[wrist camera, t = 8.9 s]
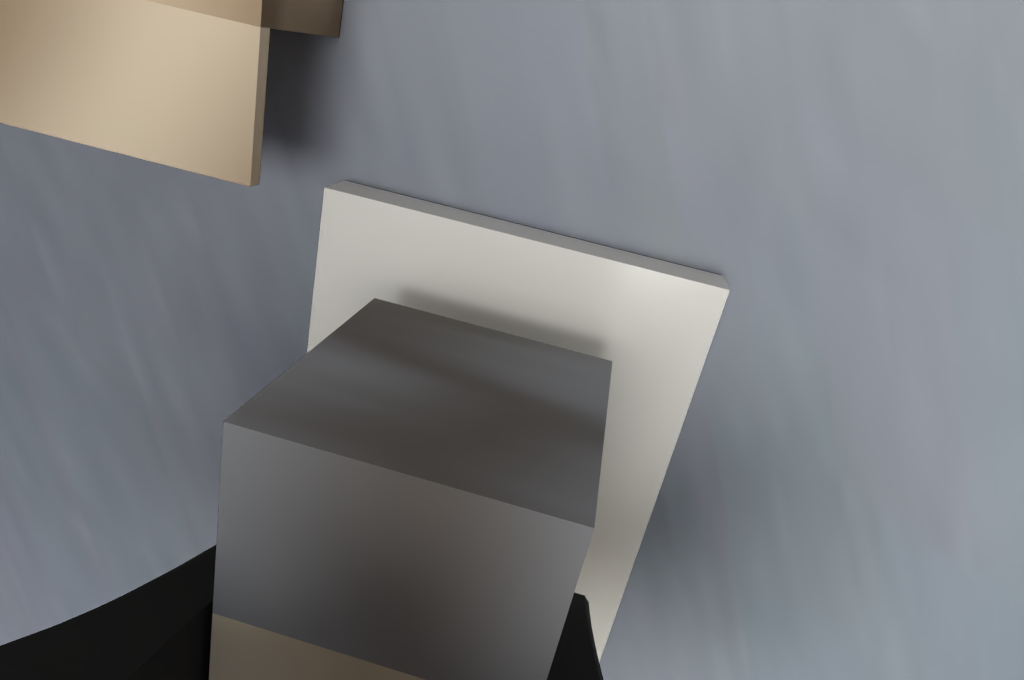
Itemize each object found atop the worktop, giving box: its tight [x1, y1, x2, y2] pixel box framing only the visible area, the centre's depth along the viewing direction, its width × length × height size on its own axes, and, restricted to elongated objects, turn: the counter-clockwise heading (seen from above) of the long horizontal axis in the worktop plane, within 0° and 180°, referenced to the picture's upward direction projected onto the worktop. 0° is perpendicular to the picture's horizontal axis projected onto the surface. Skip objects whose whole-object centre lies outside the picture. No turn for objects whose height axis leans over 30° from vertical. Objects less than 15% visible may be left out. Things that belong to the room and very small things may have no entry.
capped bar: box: [209, 298, 612, 680], centre depth 12 cm, size 4×9×5 cm, turn 168°
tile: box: [307, 181, 730, 662], centre depth 16 cm, size 8×12×1 cm, turn 168°
